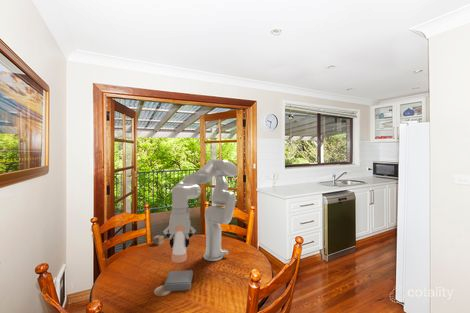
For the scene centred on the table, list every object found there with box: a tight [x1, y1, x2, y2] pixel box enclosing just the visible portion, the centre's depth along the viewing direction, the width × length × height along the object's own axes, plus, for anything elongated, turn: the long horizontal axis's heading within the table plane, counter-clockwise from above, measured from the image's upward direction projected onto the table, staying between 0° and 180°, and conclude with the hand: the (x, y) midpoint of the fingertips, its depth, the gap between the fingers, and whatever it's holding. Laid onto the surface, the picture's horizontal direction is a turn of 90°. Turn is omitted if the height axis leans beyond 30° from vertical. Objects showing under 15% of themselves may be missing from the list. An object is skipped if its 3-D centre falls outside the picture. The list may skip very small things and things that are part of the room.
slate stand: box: [163, 269, 194, 292], centre depth 108 cm, size 12×12×3 cm
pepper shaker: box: [171, 226, 188, 264], centre depth 108 cm, size 7×7×19 cm
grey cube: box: [152, 234, 165, 246], centre depth 156 cm, size 5×5×5 cm
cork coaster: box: [153, 284, 172, 297], centre depth 102 cm, size 8×8×1 cm
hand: (179, 246), depth 108 cm, fingers closed on pepper shaker, 6 cm apart
